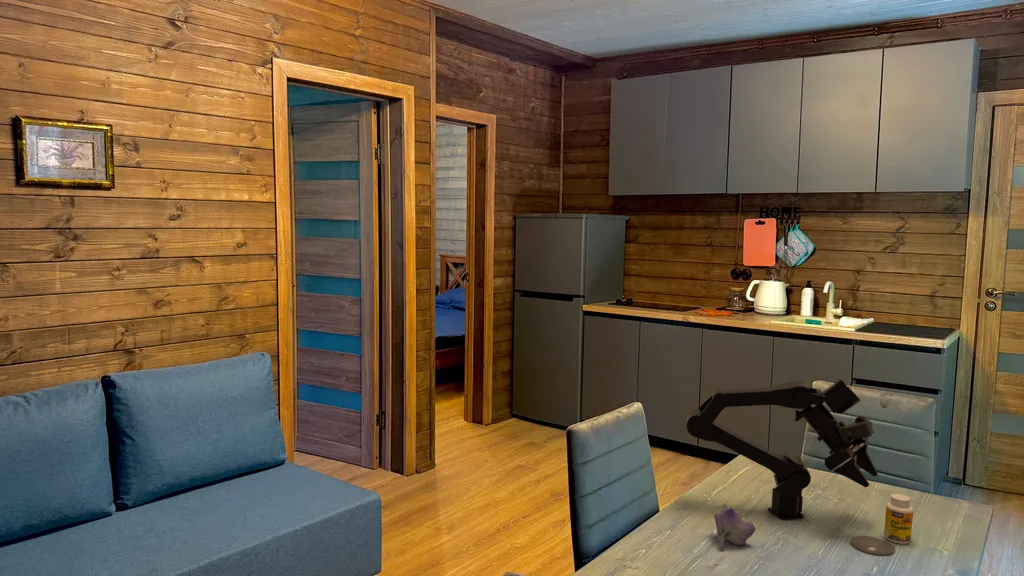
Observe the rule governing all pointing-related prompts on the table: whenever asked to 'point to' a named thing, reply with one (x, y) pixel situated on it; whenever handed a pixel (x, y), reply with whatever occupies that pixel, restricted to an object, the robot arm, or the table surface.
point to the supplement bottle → (898, 519)
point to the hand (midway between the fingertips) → (872, 480)
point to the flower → (732, 527)
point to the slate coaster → (872, 545)
